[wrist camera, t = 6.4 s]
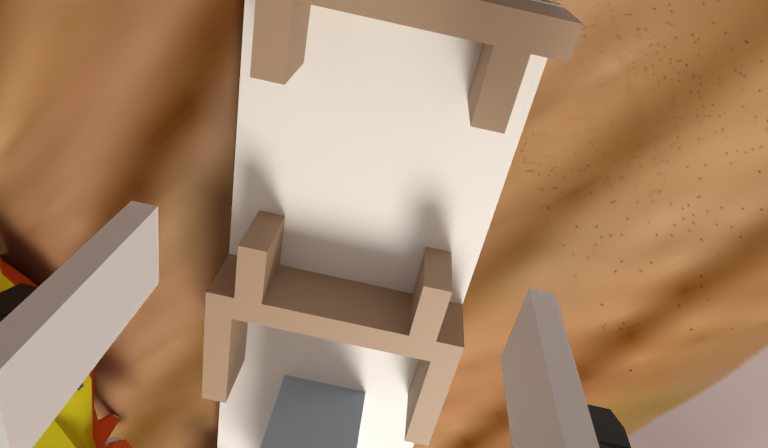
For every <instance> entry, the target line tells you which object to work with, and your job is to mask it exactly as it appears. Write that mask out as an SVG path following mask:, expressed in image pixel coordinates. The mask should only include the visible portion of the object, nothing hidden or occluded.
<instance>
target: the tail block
mask: <svg viewBox="0 0 768 448" xmlns="http://www.w3.org/2000/svg"><path fill="white" fill-rule="evenodd" d="M365 393H366V392H363V391H358V390H354V389H349V388H344V387H340V386H335V385H330V384H326V383H321V382H316V381H311V380H307V379H302V378H297V377H293V376H288V375H285V376H284V379H283V381H282V384H281V387H280V390H279V393H278V396H277V399H276V402H275V405H274V408H273V411H272V414H271V417H270V420H269V423H268V426H267V429H266V432H265V435H264V438H263V441H262V444H261V447H260V448H357V443H358V436H359V430H360V424H361V418H362V412H363V405H364V399H365Z"/></svg>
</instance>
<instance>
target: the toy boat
mask: <svg viewBox="0 0 768 448" xmlns="http://www.w3.org/2000/svg"><path fill="white" fill-rule="evenodd" d="M19 283H23V284H28V285H33V286H37V285H36V284H34V283H33V282H32V281H31V280H30V279H28V278H27V277H26V276H24V275H23V274H21V273H20V272H19V271H17V270H16V269H15V268H13V267H12V266H11V265H9V264H8V263H7V262H6V261H4V260H3V259H2V258H0V292H2V291H4V290H7V289H9V288H11V287H13V286H15V285H17V284H19ZM37 287H38V286H37ZM119 419H120V418H119V417H118V416H116V415H115V414H110V415H107V416H105V417H104V418H102V419H100V420H98V418H97V415H96V412H95V409H94V379H93V370H92V371H91V372H90V373H89V375H88V376H87V377H86V379H85V380H84V381H83V383H82V384H81V385H80V386H79V388H78V389H77V390H76V392H75V393H74V394H73V396H72V397H71V398H70V399H69V401H68V402H67V403H66V405H65V406H64V407H63V409H62V410H61V411H60V413H59V414H58V415H57V416H56V418H55V419H54V420H53V422H52V423H51V424H50V426H49V427H48V428H47V429H46V431H45V432H44V433H43V435H42V436H41V437H40V439H39V440H38V441H37V442H36V444H35V445H34V446H33V448H132V447H131V446H130V445H129V443H128V442H127V441H126V440H120V439H119V438H117V437H113V438H110V439H108V437H109V436H110V434H111V432H112V431H113V429H114V428H115V426H116V424H117V423H118V421H119ZM107 439H108V440H107Z"/></svg>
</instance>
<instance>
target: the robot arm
mask: <svg viewBox="0 0 768 448" xmlns="http://www.w3.org/2000/svg"><path fill="white" fill-rule="evenodd" d="M158 284H159V248H158V206H153V205H149V204H144V203H140V202H135V201H131V202H130V203H129V204H127V205H126V206H125V207H124V208H123V209H122V210H121V211H120V212H119V213H118V214H117V215H116V216H115V217H113V218H112V219H111V220H110V221H109V222H108V223H107V224H106V225H105V226H104V227H103V228H102V229H100V230H99V231H98V232H97V233H96V234H95V235H94V236H93V237H92V238H91V239H90V240H89V241H88V242H86V243H85V244H84V245H83V246H82V247H81V248H80V249H79V250H78V251H77V252H76V253H75V254H73V255H72V256H71V257H70V258H69V259H68V260H67V261H66V262H65V263H64V264H63V265H62V266H61V267H59V268H58V269H57V270H56V271H55V272H54V273H53V274H52V275H51V276H50V277H49V278H48V279H46V280H45V281H44V282H43V283H42V284H41V285H40V286H39V287H37V286H33V285H28V284H23V283H19V284H17V285H15V286H13V287H11V288H9V289H7V290H4V291H2V292H0V448H33V446H34V445H35V444H36V442H37V441H38V440H39V439H40V437H41V436H42V435H43V433H44V432H45V431H46V429H47V428H48V427H49V426H50V424H51V423H52V422H53V420H54V419H55V418H56V416H57V415H58V414H59V413H60V411H61V410H62V409H63V407H64V406H65V405H66V403H67V402H68V401H69V399H70V398H71V397H72V396H73V394H74V393H75V392H76V390H77V389H78V388H79V386H80V385H81V384H82V383H83V381H84V380H85V379H86V377H87V376H88V375H89V373H90V372H91V371H92V370H93V368H94V367H95V366H96V364H97V363H98V362H99V360H100V359H101V358H102V357H103V355H104V354H105V353H106V351H107V350H108V349H109V347H110V346H111V345H112V343H113V342H114V341H115V340H116V338H117V337H118V336H119V334H120V333H121V332H122V330H123V329H124V328H125V327H126V325H127V324H128V323H129V321H130V320H131V319H132V317H133V316H134V315H135V314H136V312H137V311H138V310H139V308H140V307H141V306H142V304H143V303H144V302H145V301H146V299H147V298H148V297H149V295H150V294H151V293H152V291H153V290H154V289H155V287H156V286H157V285H158ZM501 364H502V372H503V380H504V388H505V396H506V404H507V412H508V420H509V428H510V436H511V444H512V448H631V447H630V443H629V440H628V437H627V434H626V432H625V429H624V427H623V426H622V425H621V423H620V422H619V421H618V419H617V418H616V417H615V415H614V414H613V413H612V411H611V410H610V409H606V408H601V407H597V406H592V405H588V404H587V402H586V399H585V396H584V392H583V389H582V385H581V382H580V378H579V375H578V371H577V368H576V364H575V361H574V357H573V354H572V350H571V347H570V343H569V340H568V337H567V333H566V330H565V326H564V323H563V319H562V316H561V312H560V309H559V305H558V302H557V298H556V295H555V294H554V293H549V292H545V291H540V290H536V289H531V288H529V290H528V292H527V295H526V297H525V300H524V302H523V305H522V307H521V309H520V312H519V314H518V317H517V319H516V321H515V324H514V326H513V329H512V331H511V334H510V336H509V338H508V341H507V343H506V346H505V348H504V351H503V353H502V355H501Z"/></svg>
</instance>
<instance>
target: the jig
mask: <svg viewBox="0 0 768 448" xmlns="http://www.w3.org/2000/svg"><path fill="white" fill-rule="evenodd" d="M582 26H583V24H582V23H581V22H580V21H579V20H578V19H577V18H576V17H574V16H573V15H572V14H571V13H570V12H569V11H568V10H566V9H565V8H564V7H563V6H562V5H561V4H559V3H555V2H550V1H546V0H245V4H244V20H243V37H242V53H241V69H240V85H239V101H238V118H237V134H236V150H235V166H234V182H233V199H232V215H231V231H230V247H229V255H228V256H227V258H226V260H225V261H224V263H223V265H222V266H221V268H220V269H219V271H218V273H217V274H216V276H215V278H214V279H213V281H212V282H211V284H210V286H209V287H208V289H207V291H206V297H205V324H204V351H203V378H202V398H205V399H209V400H214V401H219V402H220V409H219V425H218V441H217V448H260V447H261V444H262V441H263V438H264V435H265V432H266V429H267V426H268V423H269V420H270V417H271V414H272V411H273V408H274V405H275V402H276V399H277V396H278V393H279V390H280V387H281V384H282V381H283V379H284V376H285V375H288V376H293V377H297V378H302V379H307V380H311V381H316V382H321V383H326V384H330V385H335V386H340V387H344V388H349V389H354V390H358V391H363V392H366V393H365V399H364V405H363V412H362V418H361V424H360V430H359V436H358V443H357V448H413V445H414V443H417V444H422V445H426V446H428V445H429V442H430V439H431V437H432V434H433V431H434V429H435V426H436V423H437V420H438V418H439V415H440V412H441V410H442V407H443V404H444V401H445V399H446V396H447V393H448V390H449V388H450V385H451V382H452V380H453V377H454V374H455V371H456V369H457V366H458V363H459V361H460V358H461V355H462V352H463V350H464V331H463V309H462V304H463V301H464V298H465V295H466V292H467V289H468V286H469V284H470V281H471V278H472V275H473V272H474V269H475V266H476V263H477V260H478V258H479V255H480V252H481V249H482V246H483V243H484V240H485V237H486V234H487V232H488V229H489V226H490V223H491V220H492V217H493V214H494V211H495V208H496V206H497V203H498V200H499V197H500V194H501V191H502V188H503V185H504V182H505V180H506V177H507V174H508V171H509V168H510V165H511V162H512V159H513V156H514V154H515V151H516V148H517V145H518V142H519V139H520V136H521V133H522V130H523V127H524V125H525V122H526V119H527V116H528V113H529V110H530V107H531V104H532V101H533V99H534V96H535V93H536V90H537V87H538V84H539V81H540V78H541V75H542V73H543V70H544V67H545V64H546V61H547V58H550V59H555V60H559V61H564V62H568V63H569V61H570V59H571V56H572V53H573V50H574V48H575V45H576V42H577V39H578V37H579V34H580V31H581V29H582Z"/></svg>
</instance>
